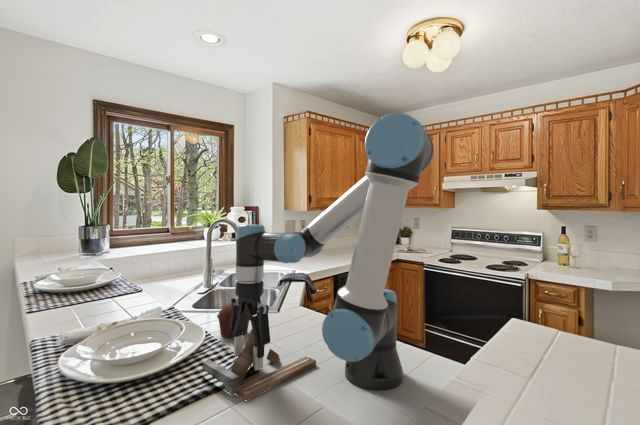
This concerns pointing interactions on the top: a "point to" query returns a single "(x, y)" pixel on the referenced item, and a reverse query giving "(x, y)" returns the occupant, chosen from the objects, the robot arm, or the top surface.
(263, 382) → the board
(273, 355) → the wooden block set
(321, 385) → the top surface
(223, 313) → the muffin
